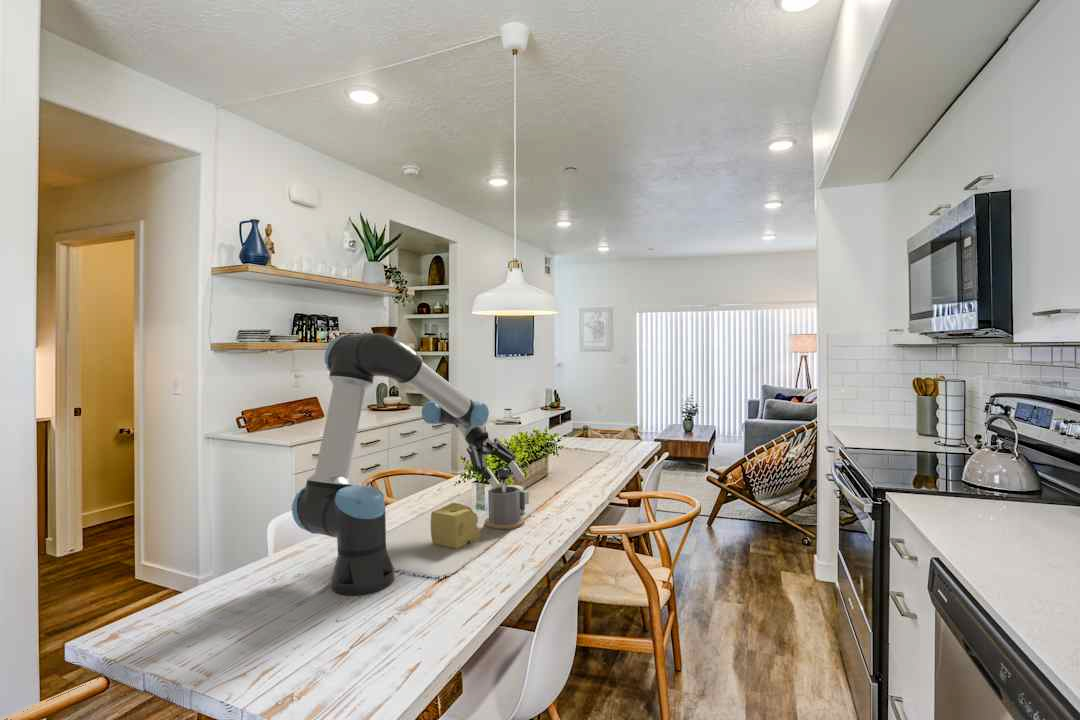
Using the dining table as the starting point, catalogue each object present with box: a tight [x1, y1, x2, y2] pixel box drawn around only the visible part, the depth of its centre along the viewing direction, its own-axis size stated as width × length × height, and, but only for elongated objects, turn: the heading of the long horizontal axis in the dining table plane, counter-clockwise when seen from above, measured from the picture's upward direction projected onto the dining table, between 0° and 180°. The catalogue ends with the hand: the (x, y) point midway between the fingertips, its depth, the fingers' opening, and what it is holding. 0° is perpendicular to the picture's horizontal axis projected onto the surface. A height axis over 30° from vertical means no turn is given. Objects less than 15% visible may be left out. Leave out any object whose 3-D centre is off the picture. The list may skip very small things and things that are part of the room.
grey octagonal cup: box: [484, 485, 526, 531], centre depth 185 cm, size 13×13×11 cm
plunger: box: [497, 467, 510, 494], centre depth 184 cm, size 6×6×16 cm
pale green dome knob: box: [508, 484, 530, 516], centre depth 195 cm, size 8×10×9 cm
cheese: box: [430, 502, 480, 550], centre depth 169 cm, size 10×11×10 cm
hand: (509, 482), depth 183 cm, fingers open, 12 cm apart
